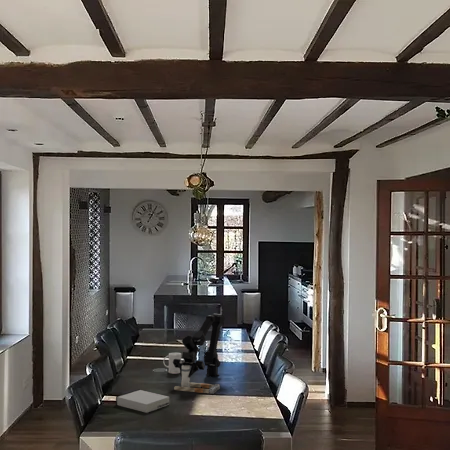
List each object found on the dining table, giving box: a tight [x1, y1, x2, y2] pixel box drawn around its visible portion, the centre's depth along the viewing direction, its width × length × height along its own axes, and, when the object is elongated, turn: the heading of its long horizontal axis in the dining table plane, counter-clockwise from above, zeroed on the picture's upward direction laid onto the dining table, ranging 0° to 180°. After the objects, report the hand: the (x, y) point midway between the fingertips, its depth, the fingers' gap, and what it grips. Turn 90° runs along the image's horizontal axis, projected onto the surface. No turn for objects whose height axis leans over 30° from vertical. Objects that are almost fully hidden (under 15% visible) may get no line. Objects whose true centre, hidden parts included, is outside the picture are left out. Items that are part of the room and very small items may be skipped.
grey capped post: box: [181, 365, 191, 387], centre depth 346 cm, size 5×5×13 cm
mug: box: [162, 352, 182, 375], centre depth 385 cm, size 12×8×12 cm
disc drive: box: [115, 388, 170, 414], centre depth 315 cm, size 18×22×5 cm
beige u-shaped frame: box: [173, 381, 221, 394], centre depth 344 cm, size 24×11×2 cm, turn 72°
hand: (184, 376), depth 345 cm, fingers closed on grey capped post, 5 cm apart
